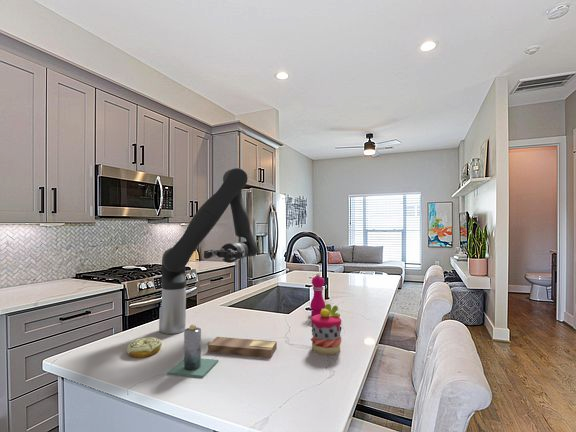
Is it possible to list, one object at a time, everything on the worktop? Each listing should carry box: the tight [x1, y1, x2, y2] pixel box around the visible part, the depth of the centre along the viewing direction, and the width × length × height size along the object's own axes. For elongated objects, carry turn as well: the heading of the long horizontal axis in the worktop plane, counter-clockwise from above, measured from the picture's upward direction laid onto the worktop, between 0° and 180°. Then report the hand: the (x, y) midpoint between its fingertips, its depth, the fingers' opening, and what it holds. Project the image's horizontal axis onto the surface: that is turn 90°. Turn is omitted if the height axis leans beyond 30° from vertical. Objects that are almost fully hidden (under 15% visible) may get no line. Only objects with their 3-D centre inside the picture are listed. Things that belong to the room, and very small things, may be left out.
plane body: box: [207, 336, 278, 359], centre depth 113 cm, size 22×8×3 cm, turn 79°
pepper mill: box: [309, 272, 326, 317], centre depth 158 cm, size 7×7×20 cm
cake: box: [310, 303, 342, 356], centre depth 115 cm, size 10×10×15 cm
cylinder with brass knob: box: [183, 324, 202, 371], centre depth 98 cm, size 5×5×13 cm
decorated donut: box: [126, 336, 162, 359], centre depth 111 cm, size 10×11×4 cm
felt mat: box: [167, 357, 219, 379], centre depth 99 cm, size 11×11×1 cm
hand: (216, 256), depth 116 cm, fingers open, 8 cm apart
